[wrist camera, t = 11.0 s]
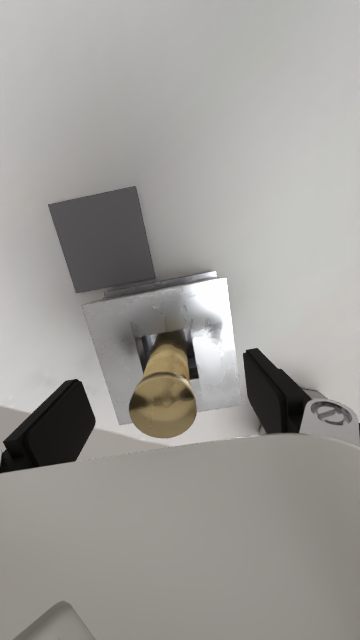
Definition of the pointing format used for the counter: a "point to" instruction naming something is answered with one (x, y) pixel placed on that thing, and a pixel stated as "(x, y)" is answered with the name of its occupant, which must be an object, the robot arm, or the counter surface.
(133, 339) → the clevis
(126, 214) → the mat
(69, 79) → the counter surface
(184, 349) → the pin
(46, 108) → the counter surface
